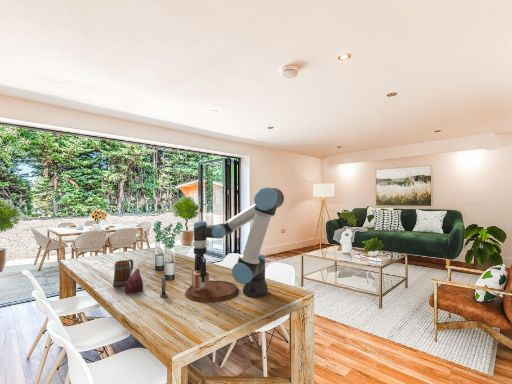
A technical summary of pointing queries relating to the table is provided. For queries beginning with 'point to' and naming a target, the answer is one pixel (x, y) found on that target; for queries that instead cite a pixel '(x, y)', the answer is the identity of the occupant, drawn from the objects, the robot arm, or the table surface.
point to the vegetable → (134, 283)
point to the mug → (122, 272)
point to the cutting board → (212, 292)
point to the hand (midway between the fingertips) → (200, 285)
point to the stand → (163, 287)
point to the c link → (196, 279)
